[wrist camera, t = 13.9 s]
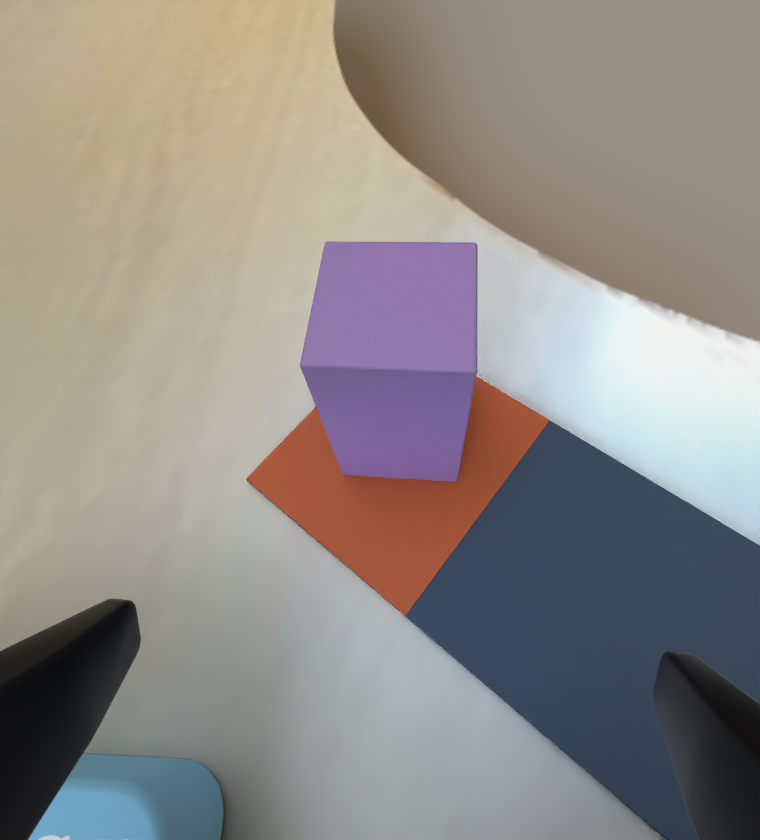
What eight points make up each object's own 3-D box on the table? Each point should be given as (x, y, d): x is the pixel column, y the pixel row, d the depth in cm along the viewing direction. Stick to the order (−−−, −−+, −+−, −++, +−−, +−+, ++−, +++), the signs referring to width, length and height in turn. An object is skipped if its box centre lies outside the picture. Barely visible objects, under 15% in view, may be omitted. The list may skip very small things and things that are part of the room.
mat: (1007, 698, 16) (1016, 698, 16) (918, 1054, 13) (929, 1062, 12) (393, 330, 25) (393, 326, 25) (247, 481, 22) (245, 479, 22)
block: (457, 482, 21) (477, 372, 13) (342, 475, 21) (298, 365, 14) (459, 383, 23) (477, 241, 16) (355, 379, 24) (324, 240, 16)
